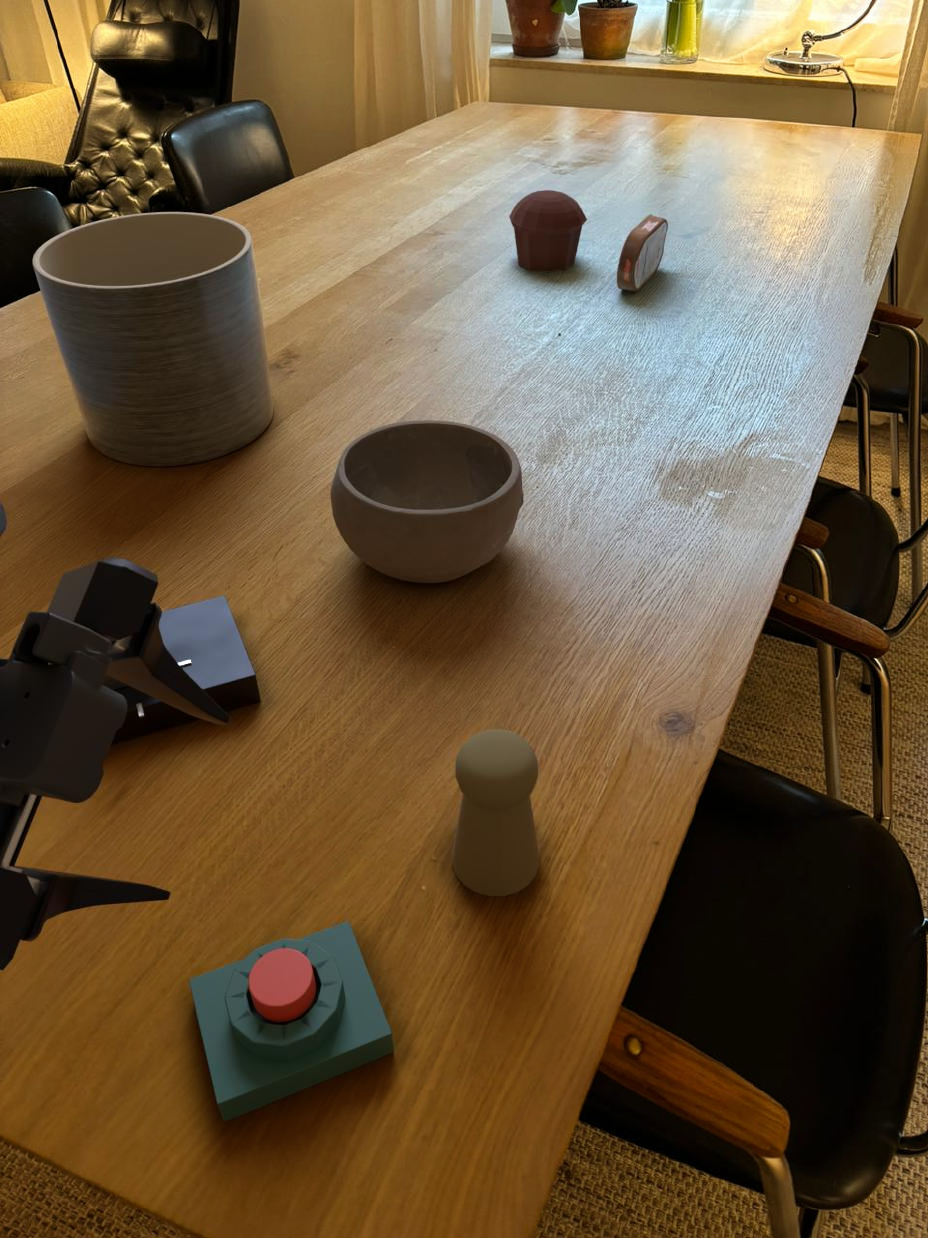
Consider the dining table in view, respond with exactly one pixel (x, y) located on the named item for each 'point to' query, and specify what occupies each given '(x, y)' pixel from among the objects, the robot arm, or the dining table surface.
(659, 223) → the tin
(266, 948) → the button block
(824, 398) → the dining table surface
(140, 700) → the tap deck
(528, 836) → the brown pawn
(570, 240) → the muffin
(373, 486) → the bowl
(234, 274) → the planter
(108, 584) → the robot arm
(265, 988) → the button
